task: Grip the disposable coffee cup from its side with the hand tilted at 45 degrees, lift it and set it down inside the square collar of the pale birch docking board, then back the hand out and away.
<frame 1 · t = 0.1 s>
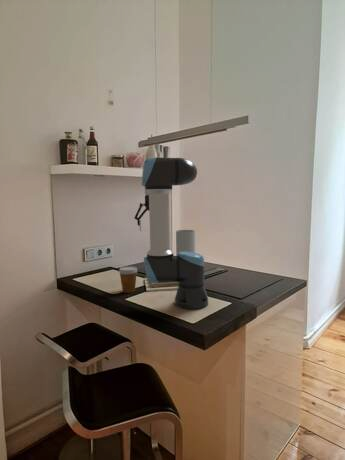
hand: (151, 230, 183), 28 cm above the worktop, tool pointing down, fingers open, 13 cm apart
cylinder vase: (185, 268, 206), on the worktop
docking board: (165, 284, 170), on the worktop
disposable coffee cup: (128, 291, 160), on the worktop
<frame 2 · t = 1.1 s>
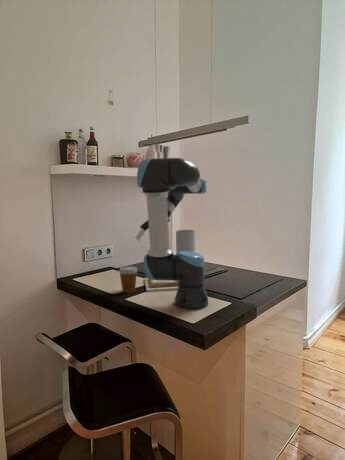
hand: (144, 240, 164), 25 cm above the worktop, tool tilted 45°, fingers open, 13 cm apart
nothing on the worktop moved.
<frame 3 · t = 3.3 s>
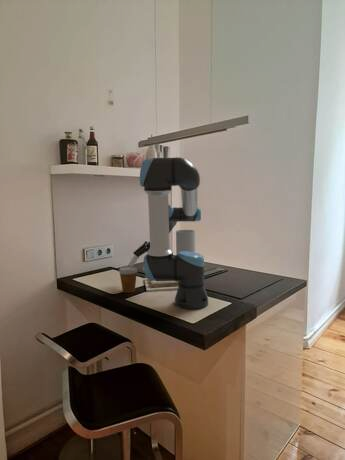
hand: (136, 268, 163), 11 cm above the worktop, tool tilted 45°, fingers open, 13 cm apart
nothing on the worktop moved.
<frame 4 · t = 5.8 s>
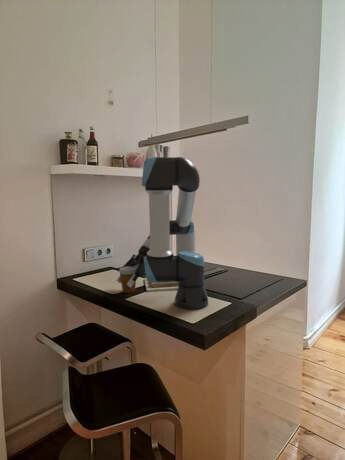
hand: (123, 283, 157), 4 cm above the worktop, tool tilted 45°, fingers closed on disposable coffee cup, 9 cm apart
disposable coffee cup: (128, 291, 160), on the worktop, touching gripper
everything else where it was.
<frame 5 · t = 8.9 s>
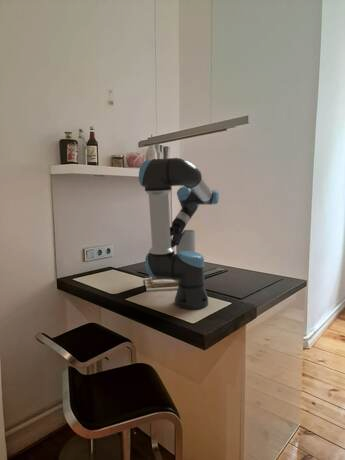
hand: (159, 253, 166), 18 cm above the worktop, tool tilted 45°, fingers closed on disposable coffee cup, 9 cm apart
disposable coffee cup: (164, 260, 168), point 13 cm above the worktop, touching gripper
everything else where it was.
when the fingers open (7 cm above the worktop, at t = 12.1 s): disposable coffee cup drops 1 cm, resting on docking board.
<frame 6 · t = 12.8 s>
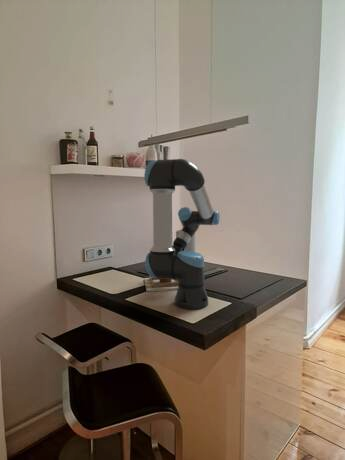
hand: (161, 271, 168), 8 cm above the worktop, tool tilted 45°, fingers open, 13 cm apart
disposable coffee cup: (165, 282, 170), point 1 cm above the worktop, touching docking board
everything else where it was.
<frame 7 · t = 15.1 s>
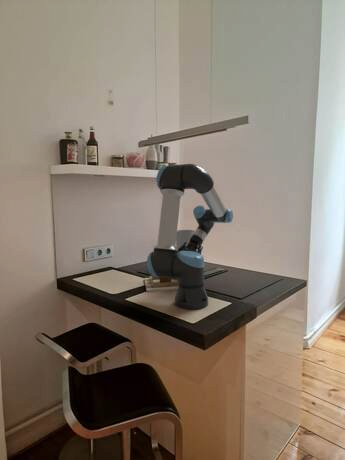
hand: (179, 267, 176), 8 cm above the worktop, tool tilted 45°, fingers open, 13 cm apart
nothing on the worktop moved.
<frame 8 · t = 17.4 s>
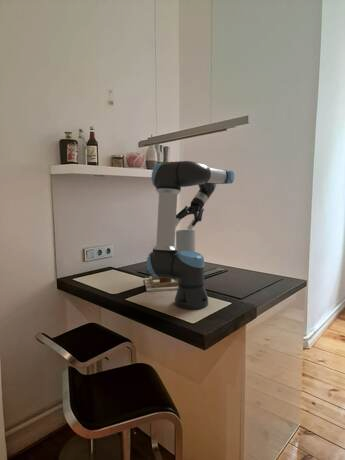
hand: (180, 228, 175), 30 cm above the worktop, tool tilted 45°, fingers open, 13 cm apart
nothing on the worktop moved.
at the end: disposable coffee cup inside the target area on the docking board (0.1 cm from its centre), point 0.8 cm above the docking board's base; disposable coffee cup tilted 0°; the gripper is holding nothing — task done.
